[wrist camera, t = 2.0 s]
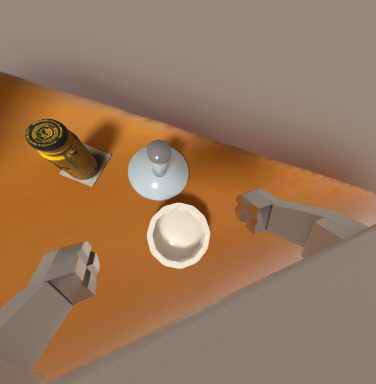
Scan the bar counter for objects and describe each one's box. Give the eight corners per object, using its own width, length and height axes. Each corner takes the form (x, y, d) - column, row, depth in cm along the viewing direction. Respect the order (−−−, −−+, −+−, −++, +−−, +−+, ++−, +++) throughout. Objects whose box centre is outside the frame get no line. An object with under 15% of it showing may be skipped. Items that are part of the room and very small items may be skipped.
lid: (136, 208, 33) (127, 197, 24) (122, 152, 36) (110, 123, 27) (195, 192, 37) (207, 177, 27) (178, 142, 40) (184, 113, 30)
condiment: (59, 174, 32) (4, 140, 21) (81, 143, 35) (44, 98, 23) (92, 187, 33) (56, 161, 21) (112, 155, 35) (89, 117, 24)
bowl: (157, 272, 30) (157, 278, 26) (143, 215, 33) (141, 212, 29) (211, 252, 33) (217, 254, 29) (194, 200, 36) (198, 196, 32)
